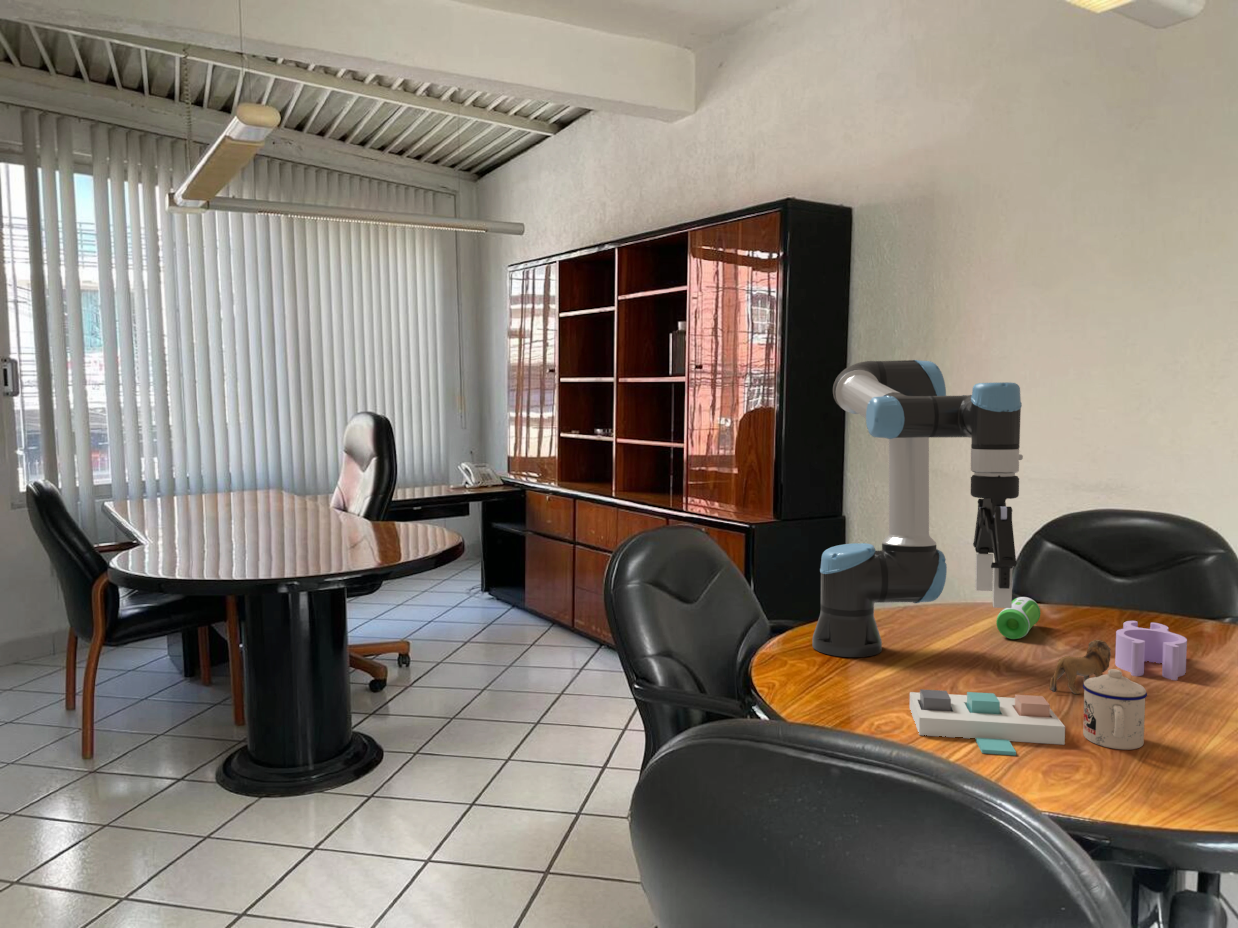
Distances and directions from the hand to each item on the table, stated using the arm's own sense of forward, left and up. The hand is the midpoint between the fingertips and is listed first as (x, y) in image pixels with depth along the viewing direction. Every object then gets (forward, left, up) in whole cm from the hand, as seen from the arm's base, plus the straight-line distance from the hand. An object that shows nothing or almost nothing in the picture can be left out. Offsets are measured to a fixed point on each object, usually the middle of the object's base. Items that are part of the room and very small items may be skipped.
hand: (992, 598), depth 148 cm
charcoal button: (+1, -9, -20) cm, 22 cm away
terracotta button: (+1, +7, -20) cm, 21 cm away
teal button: (+1, -1, -20) cm, 20 cm away
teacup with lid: (+5, +18, -22) cm, 29 cm away
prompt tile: (+11, -1, -22) cm, 24 cm away
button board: (+1, -1, -22) cm, 22 cm away
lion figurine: (-23, +21, -22) cm, 38 cm away
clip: (-42, +40, -22) cm, 62 cm away
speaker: (-64, +19, -22) cm, 71 cm away
